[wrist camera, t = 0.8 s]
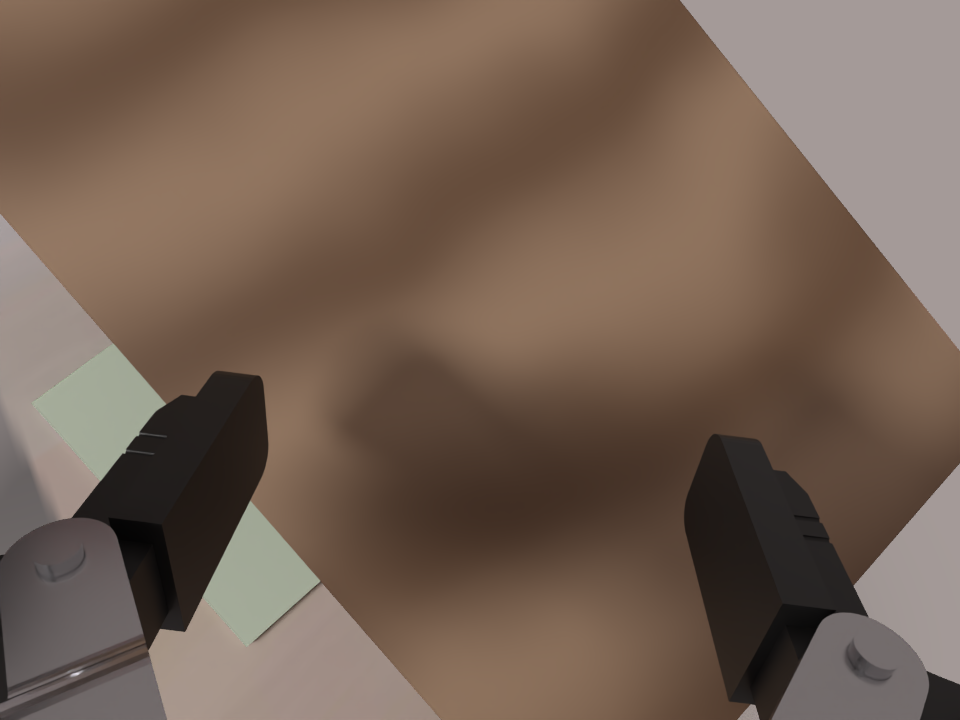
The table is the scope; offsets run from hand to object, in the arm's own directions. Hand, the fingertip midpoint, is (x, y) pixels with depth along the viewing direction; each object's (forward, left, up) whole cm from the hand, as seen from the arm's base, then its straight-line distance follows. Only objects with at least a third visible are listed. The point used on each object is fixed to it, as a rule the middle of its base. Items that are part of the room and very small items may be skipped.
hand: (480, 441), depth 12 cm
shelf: (-5, +4, -25) cm, 26 cm away
